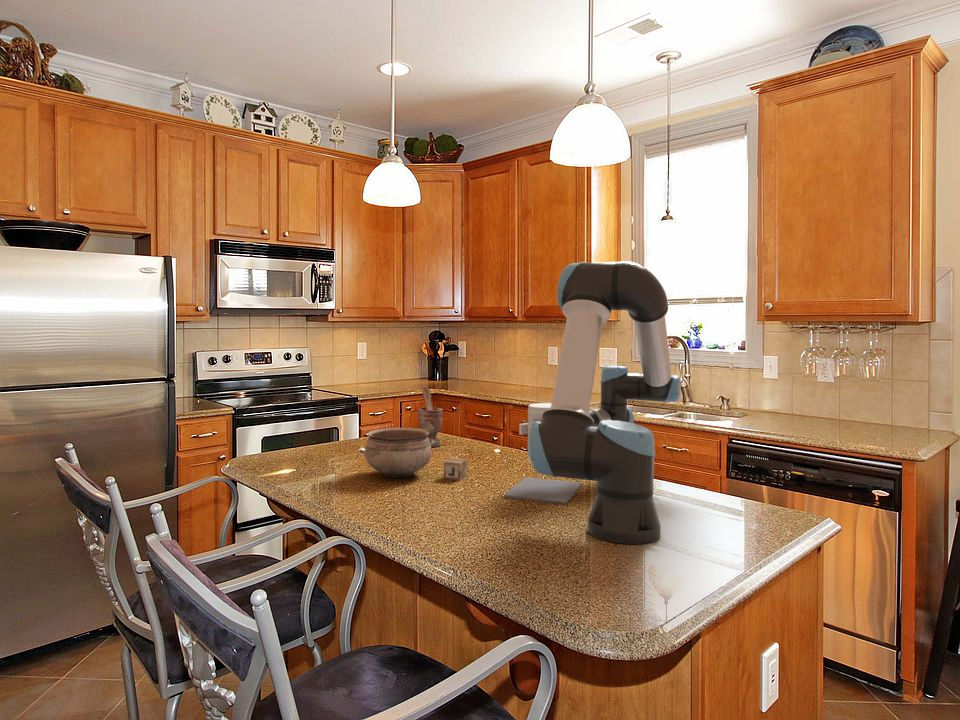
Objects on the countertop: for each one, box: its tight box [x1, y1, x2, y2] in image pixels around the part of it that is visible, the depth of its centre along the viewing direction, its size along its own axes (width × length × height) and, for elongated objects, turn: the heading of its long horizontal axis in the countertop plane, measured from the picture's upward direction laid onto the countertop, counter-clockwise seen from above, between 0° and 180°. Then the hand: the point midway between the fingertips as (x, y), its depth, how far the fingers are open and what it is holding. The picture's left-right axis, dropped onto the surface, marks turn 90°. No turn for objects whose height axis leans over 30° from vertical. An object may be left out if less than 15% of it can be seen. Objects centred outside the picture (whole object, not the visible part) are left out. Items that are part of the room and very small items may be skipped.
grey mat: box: [503, 476, 583, 505], centre depth 171 cm, size 20×16×1 cm
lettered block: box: [443, 457, 468, 481], centre depth 184 cm, size 6×5×5 cm
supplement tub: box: [527, 402, 552, 462], centre depth 170 cm, size 10×10×15 cm
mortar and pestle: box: [417, 387, 443, 448], centre depth 230 cm, size 12×9×20 cm
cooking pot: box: [358, 427, 435, 479], centre depth 185 cm, size 25×19×12 cm
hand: (534, 432), depth 167 cm, fingers closed on supplement tub, 9 cm apart
